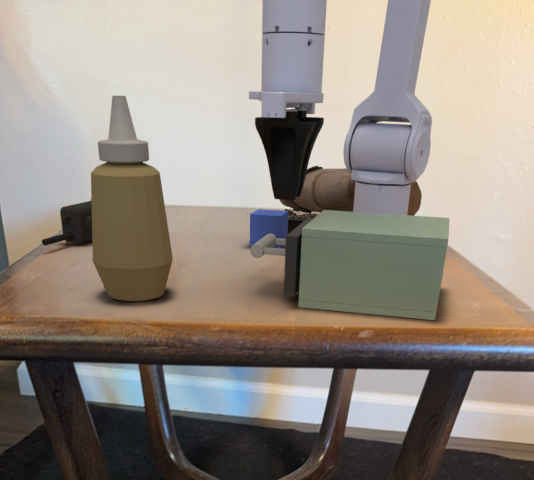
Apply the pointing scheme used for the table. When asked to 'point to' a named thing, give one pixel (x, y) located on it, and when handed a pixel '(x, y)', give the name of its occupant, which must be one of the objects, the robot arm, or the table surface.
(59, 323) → the table surface
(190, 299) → the table surface
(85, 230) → the walkie-talkie
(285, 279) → the grey drawer
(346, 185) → the boot
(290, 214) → the knife
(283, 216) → the blue rounded cube
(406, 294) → the drawer cabinet
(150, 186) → the squeeze bottle
